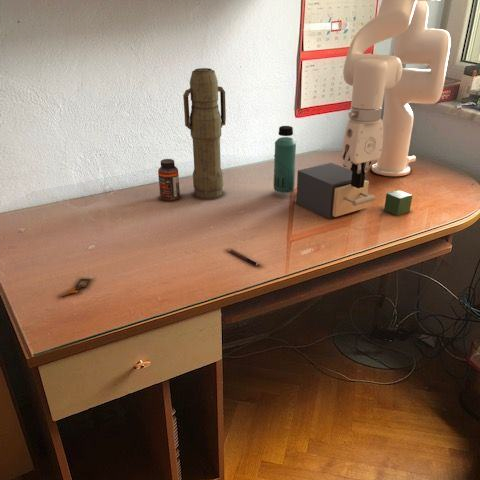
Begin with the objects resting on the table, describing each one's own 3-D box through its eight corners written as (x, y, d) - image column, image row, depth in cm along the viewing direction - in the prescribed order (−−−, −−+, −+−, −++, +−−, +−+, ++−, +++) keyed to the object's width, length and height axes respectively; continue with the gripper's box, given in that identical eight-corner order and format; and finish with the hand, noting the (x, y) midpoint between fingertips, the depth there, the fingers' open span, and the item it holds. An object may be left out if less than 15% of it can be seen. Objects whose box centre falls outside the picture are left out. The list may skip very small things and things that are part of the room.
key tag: (82, 278, 120) (81, 276, 120) (94, 280, 119) (93, 277, 119) (61, 296, 113) (60, 293, 113) (73, 298, 113) (72, 296, 112)
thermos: (184, 193, 165) (176, 69, 145) (218, 186, 169) (214, 65, 150) (197, 202, 158) (190, 73, 139) (232, 195, 163) (230, 69, 144)
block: (396, 206, 154) (398, 189, 151) (409, 211, 151) (412, 194, 148) (383, 210, 152) (386, 193, 149) (397, 215, 148) (400, 198, 146)
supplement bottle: (156, 200, 160) (152, 162, 154) (166, 193, 165) (163, 156, 159) (174, 202, 158) (171, 164, 152) (183, 195, 163) (181, 158, 157)
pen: (260, 266, 124) (260, 262, 124) (258, 267, 124) (258, 263, 123) (230, 250, 131) (229, 246, 131) (227, 251, 131) (227, 247, 130)
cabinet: (362, 208, 153) (366, 175, 148) (329, 218, 147) (332, 184, 142) (328, 194, 163) (331, 162, 158) (296, 202, 157) (297, 170, 152)
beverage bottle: (294, 190, 166) (297, 123, 155) (294, 198, 160) (297, 129, 149) (273, 190, 166) (275, 123, 155) (272, 197, 161) (274, 129, 150)
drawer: (378, 213, 147) (382, 186, 143) (347, 223, 142) (350, 194, 138) (333, 194, 160) (335, 168, 156) (303, 202, 155) (305, 175, 151)
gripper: (353, 121, 127) (345, 196, 137) (398, 113, 134) (387, 185, 144) (332, 115, 132) (326, 187, 142) (376, 108, 139) (367, 177, 149)
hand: (357, 186), depth 143 cm, fingers closed
